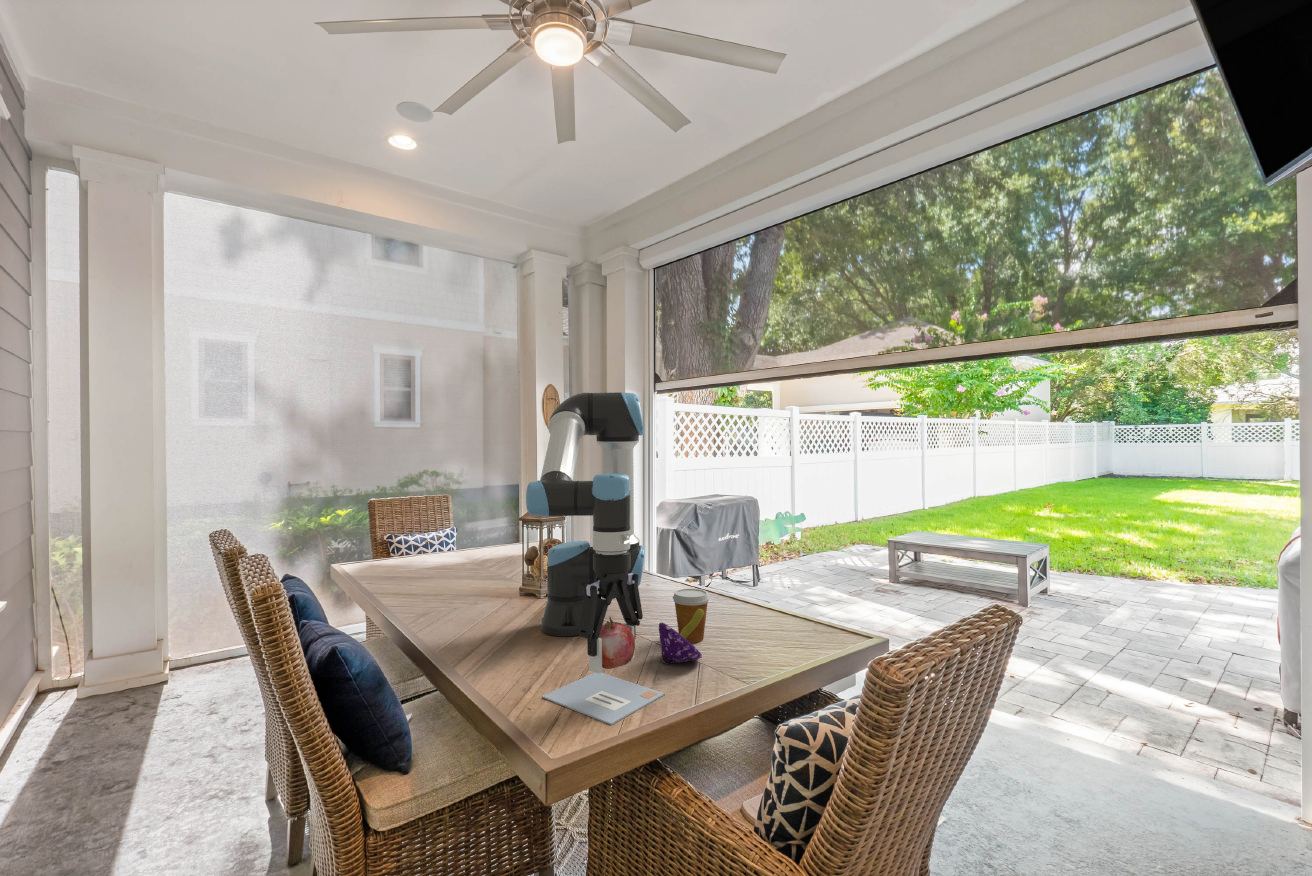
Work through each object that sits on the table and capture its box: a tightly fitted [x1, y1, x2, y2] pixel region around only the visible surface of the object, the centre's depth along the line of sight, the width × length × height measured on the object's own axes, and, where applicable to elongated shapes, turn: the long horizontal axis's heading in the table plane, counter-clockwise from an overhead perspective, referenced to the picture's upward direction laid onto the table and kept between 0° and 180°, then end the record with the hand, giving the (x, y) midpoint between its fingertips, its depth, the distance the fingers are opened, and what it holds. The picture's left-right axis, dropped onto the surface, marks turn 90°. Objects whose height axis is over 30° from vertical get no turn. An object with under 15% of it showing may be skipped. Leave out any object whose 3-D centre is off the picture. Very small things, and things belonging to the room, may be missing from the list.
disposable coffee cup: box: [672, 588, 710, 644], centre depth 155 cm, size 10×10×12 cm
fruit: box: [599, 616, 636, 670], centre depth 119 cm, size 9×10×10 cm
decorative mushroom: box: [658, 609, 704, 665], centre depth 139 cm, size 12×12×15 cm
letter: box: [541, 672, 666, 726], centre depth 121 cm, size 19×16×1 cm
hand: (612, 663), depth 119 cm, fingers closed on fruit, 9 cm apart
